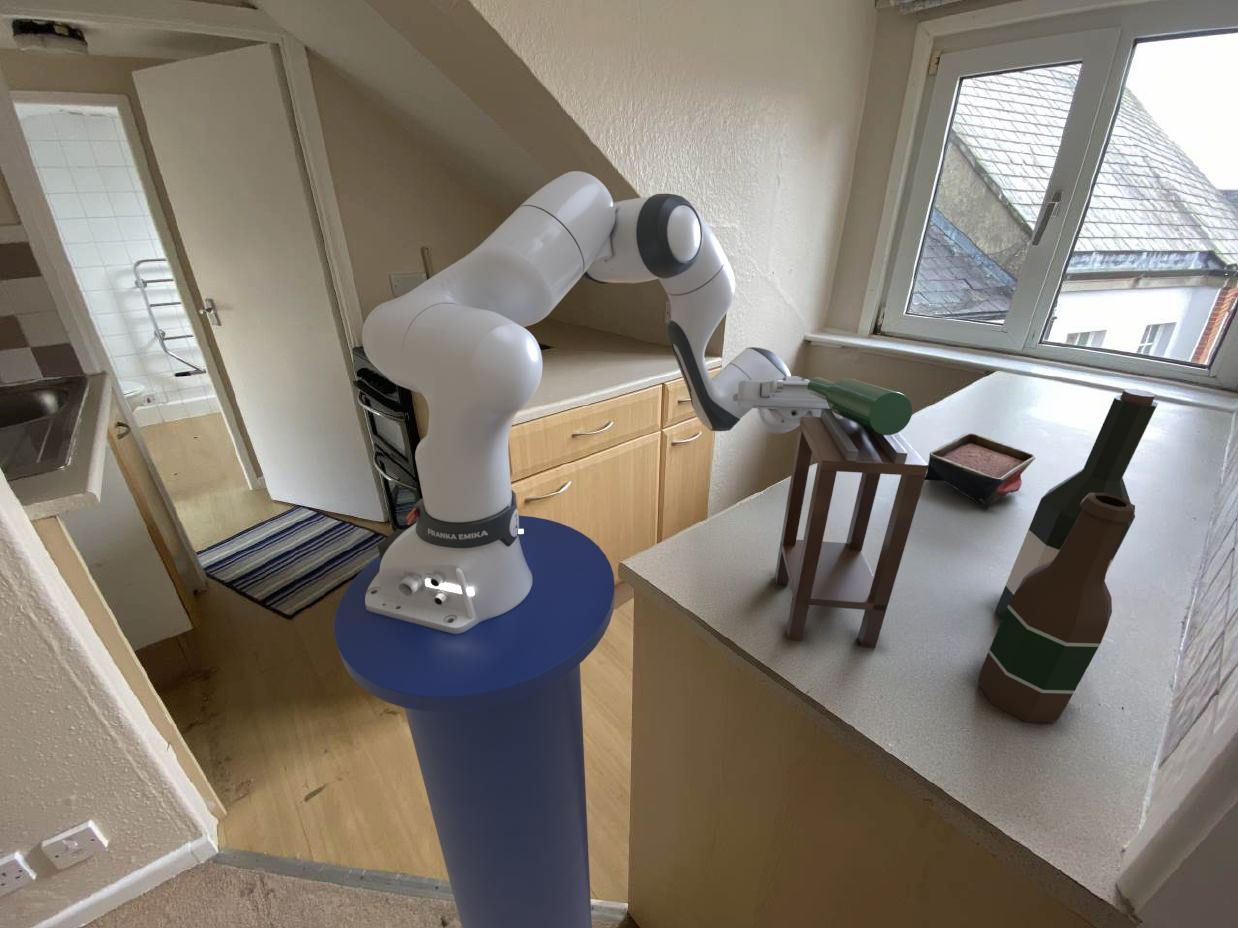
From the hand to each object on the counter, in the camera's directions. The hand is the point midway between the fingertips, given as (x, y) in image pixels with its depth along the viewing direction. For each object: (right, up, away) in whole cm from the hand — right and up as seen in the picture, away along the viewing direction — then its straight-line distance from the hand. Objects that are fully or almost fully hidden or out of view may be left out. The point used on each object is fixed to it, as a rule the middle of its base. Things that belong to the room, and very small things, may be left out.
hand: (810, 385), depth 80 cm
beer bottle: (+13, -37, -24) cm, 46 cm away
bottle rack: (-3, -31, -12) cm, 33 cm away
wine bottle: (+23, -32, -14) cm, 42 cm away
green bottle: (-3, -6, -18) cm, 19 cm away
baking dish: (+35, -16, +17) cm, 42 cm away
